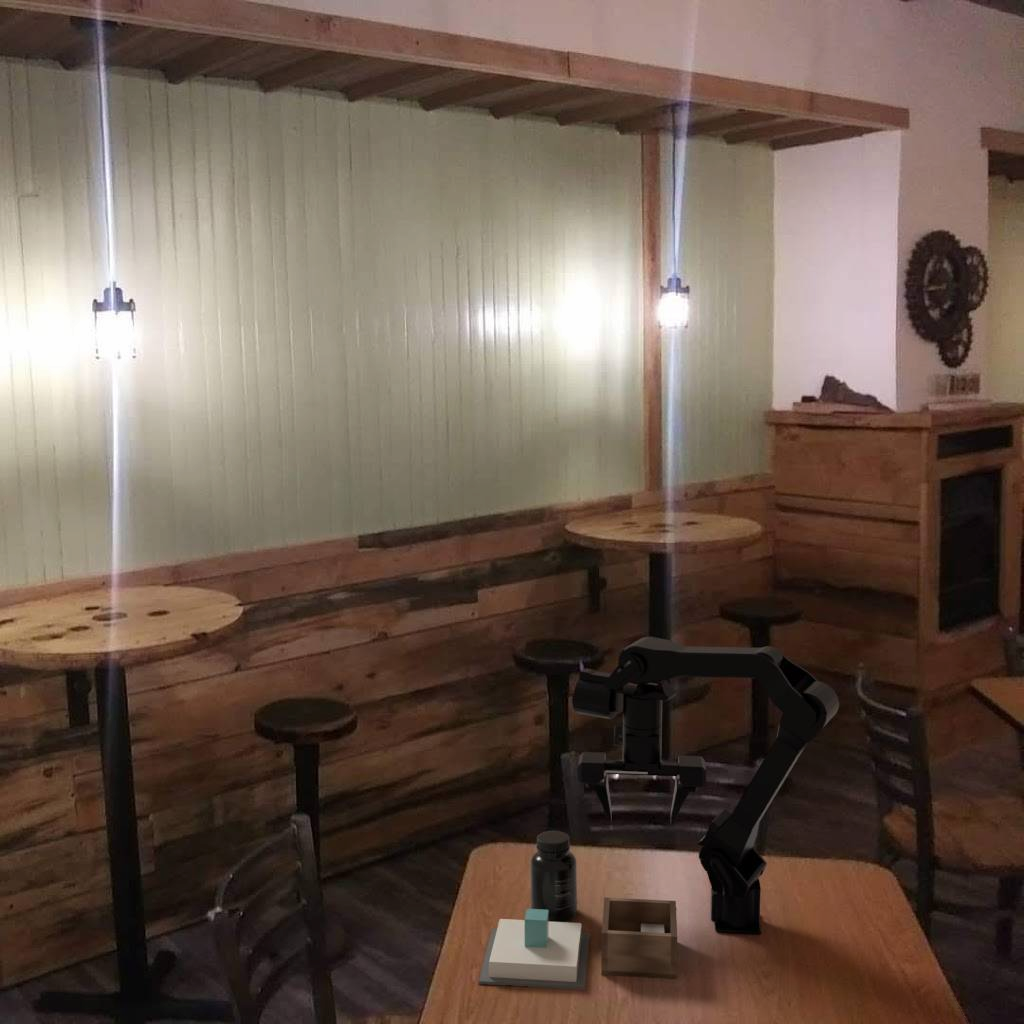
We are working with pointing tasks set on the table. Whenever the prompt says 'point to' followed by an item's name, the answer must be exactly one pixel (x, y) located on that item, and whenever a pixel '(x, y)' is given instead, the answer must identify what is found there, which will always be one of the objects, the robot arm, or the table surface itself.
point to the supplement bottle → (554, 877)
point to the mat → (538, 983)
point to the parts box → (639, 938)
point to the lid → (536, 948)
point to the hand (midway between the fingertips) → (640, 823)
